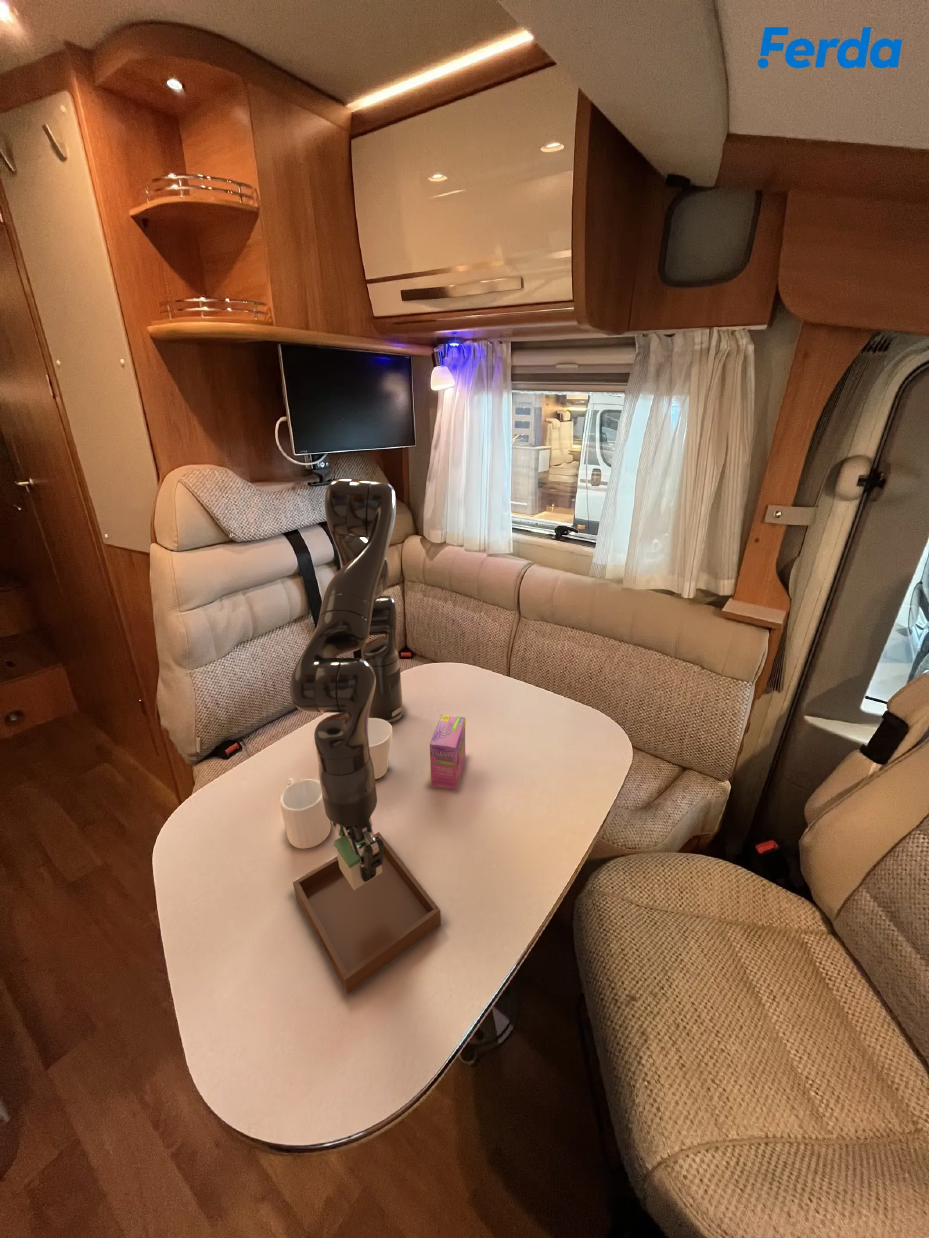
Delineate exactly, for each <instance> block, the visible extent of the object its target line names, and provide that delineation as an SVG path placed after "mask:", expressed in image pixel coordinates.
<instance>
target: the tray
mask: <svg viewBox="0 0 929 1238" xmlns="http://www.w3.org/2000/svg"><path fill="white" fill-rule="evenodd" d="M373 834H374V837H375V838H376V840H377V839H378V838H381V840H382V841H383V864H382V873H380V874H379V875H377V876H376V877H374V878H373V879H371V880H369V881H368V882H366V883H365V884H363V885H362V886H360V887H358V888H357V889H355V890H353V888H352V887H351V885H350V884H349V882H348V880H347V879H346V877H345V876H344V874H343V873H342V871H341V870H340V868H339V862H338V856H335V857H333V858H331V859H330V860H328V861H326V862H325V863H323V864H321V865H320V866H317V867H316V868H313V870H311V871H309V872H308V873H306V874H304V875H302V876H301V877H299V878H297V879H296V880H293V881H292V886H293V890H294V895H295V897H296V899H297V900H298V903H299V904H300V906H301V908H302V910H303V912H304V914H305V916H306V918H307V920H308V922H309V924H310V926H311V927H312V929H313V931H314V933H315V935H316V937H317V939H318V941H319V943H320V944H321V945H320V946H321V947H322V949H323V950H324V953H325V955H326V956H327V959H328V960H329V962H330V963H331V965H332V968H333V970H334V972H335V973H336V975H337V977H338V979H339V981H340V983H341V985H342V987H343V989H344V991H345V993H346V994H348V995H349V994H350V993H351V992H352V991H353V990H355V989H356V988H357V987H359V986H360V985H361V984H363V983H364V982H366V980H368V979H369V978H371V977H372V976H373V975H375V974H376V973H377V972H378V971H380V970H381V969H382V968H384V967H386V966H387V965H388V964H389V963H390V962H392V961H393V960H394V959H396V958H397V957H398V956H400V955H401V954H402V953H404V952H405V951H407V950H408V949H409V948H410V947H412V946H413V945H414V944H415V943H417V942H418V941H419V940H421V939H422V938H423V937H425V936H426V935H427V934H429V933H430V932H431V931H433V930H434V929H435V928H437V927H438V926H439V925H441V924H442V919H441V909H440V908H439V906H438V905H437V904H436V902H434V900H433V899H432V897H431V896H430V895H429V894H428V893H427V891H426V890H425V889H424V887H423V886H422V885H421V883H420V882H419V881H418V880H417V878H416V877H415V876H414V874H413V873H412V872H411V871H410V869H409V868H408V867H407V865H405V863H404V862H403V860H402V859H401V857H399V855H398V854H397V853H396V852H395V850H394V849H393V848H392V846H391V845H390V844H389V843H388V841H387V840H386V839H385V837H384V836H383V835H382V834H381V832H380V831H377V832H376V833H373Z"/></svg>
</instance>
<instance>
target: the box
mask: <svg viewBox="0 0 929 1238" xmlns="http://www.w3.org/2000/svg"><path fill="white" fill-rule="evenodd" d="M465 760H466V717H463V716H458V715H450V714H449V715H448V714H441V715H440V717H439V719H438V721H437V725H436V727H435V730H434V731H433V735H432V737H431V740H430V742H429V761H430V762H429V763H430V787H433V788H440V789H446V790H453V791H457V787H458V784H459V781H460V777H461V774H462V770H463V767H464V764H465Z"/></svg>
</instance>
